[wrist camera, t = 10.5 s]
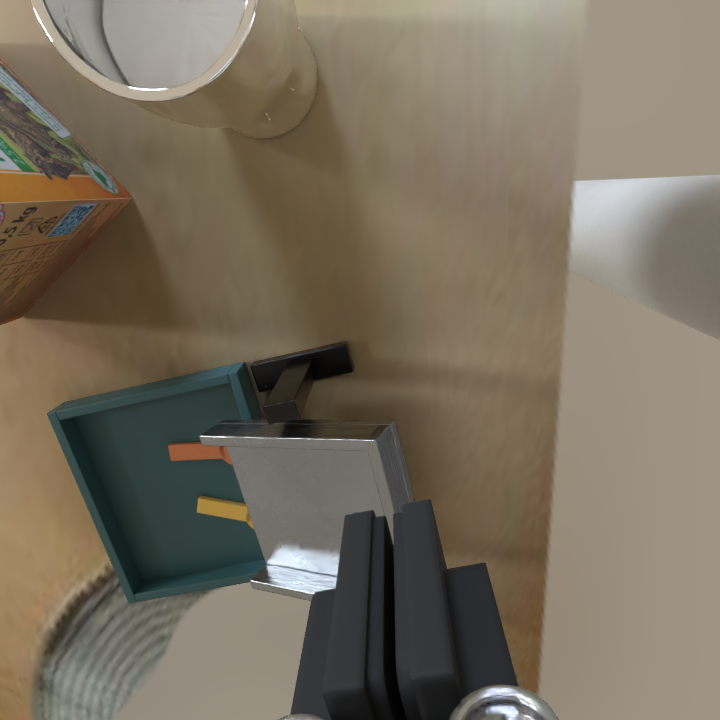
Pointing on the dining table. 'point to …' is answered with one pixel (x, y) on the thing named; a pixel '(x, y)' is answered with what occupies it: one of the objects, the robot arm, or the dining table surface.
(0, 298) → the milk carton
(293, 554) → the key dish
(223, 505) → the brass key
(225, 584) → the tray
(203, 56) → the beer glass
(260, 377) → the dish cradle
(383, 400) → the dining table surface
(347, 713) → the robot arm
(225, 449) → the copper key
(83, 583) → the dining table surface
